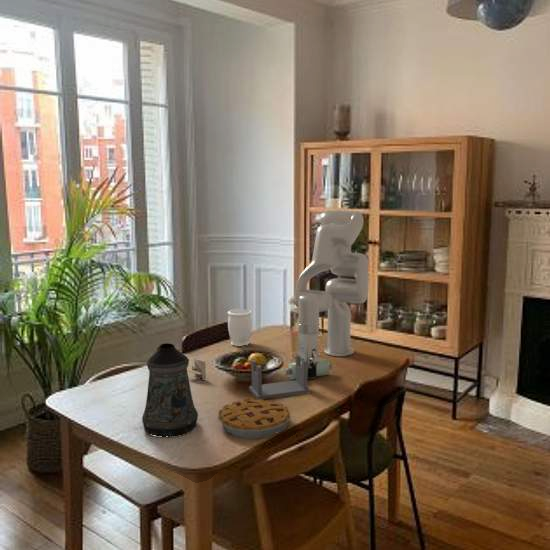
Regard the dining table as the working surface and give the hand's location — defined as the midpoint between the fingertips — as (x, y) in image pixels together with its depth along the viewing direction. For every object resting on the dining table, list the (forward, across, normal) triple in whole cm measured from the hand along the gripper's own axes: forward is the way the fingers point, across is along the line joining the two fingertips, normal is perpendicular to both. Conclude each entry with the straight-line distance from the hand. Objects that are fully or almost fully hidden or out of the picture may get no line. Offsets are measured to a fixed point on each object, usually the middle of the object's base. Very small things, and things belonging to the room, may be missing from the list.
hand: (308, 374), depth 217 cm
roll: (+1, 0, 0) cm, 1 cm away
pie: (+1, +33, -31) cm, 45 cm away
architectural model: (+2, -12, -39) cm, 41 cm away
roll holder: (+1, +10, -15) cm, 18 cm away
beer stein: (+1, +24, -56) cm, 61 cm away
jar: (+1, -49, -13) cm, 51 cm away
